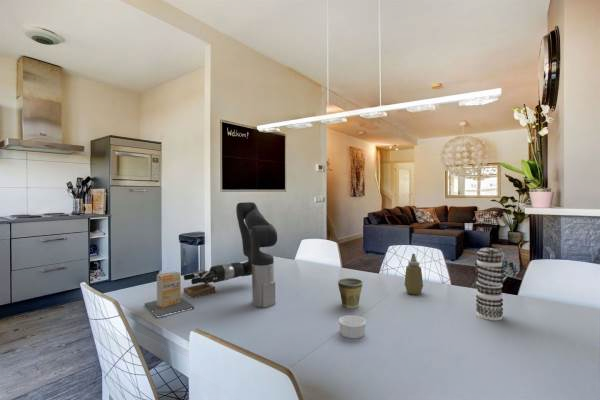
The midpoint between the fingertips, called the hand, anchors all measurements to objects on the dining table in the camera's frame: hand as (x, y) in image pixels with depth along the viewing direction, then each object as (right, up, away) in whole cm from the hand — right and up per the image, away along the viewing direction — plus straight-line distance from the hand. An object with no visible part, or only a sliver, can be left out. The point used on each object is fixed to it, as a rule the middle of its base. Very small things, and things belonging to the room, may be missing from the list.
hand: (187, 279), depth 132 cm
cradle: (+1, -10, +13) cm, 16 cm away
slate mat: (-6, -10, -5) cm, 13 cm away
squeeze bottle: (+101, -8, +8) cm, 102 cm away
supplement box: (-6, -9, -5) cm, 12 cm away
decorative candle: (+119, -9, -18) cm, 121 cm away
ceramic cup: (+70, -9, -5) cm, 71 cm away
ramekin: (+66, -10, -31) cm, 74 cm away
